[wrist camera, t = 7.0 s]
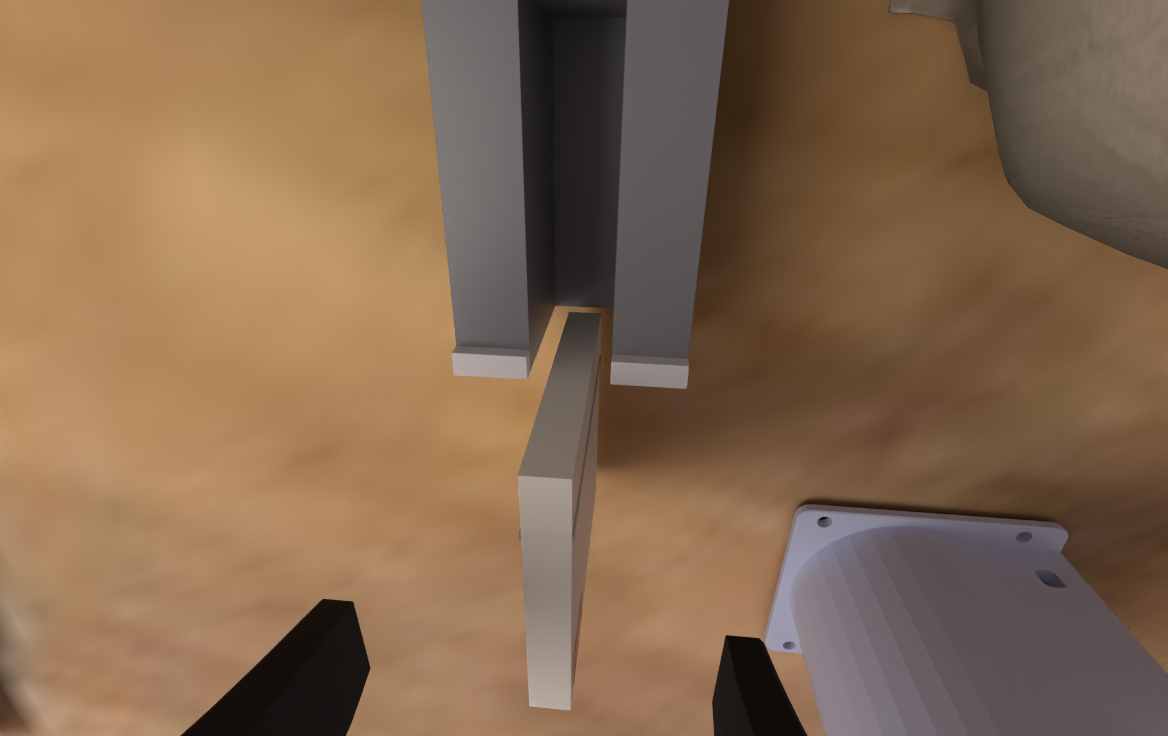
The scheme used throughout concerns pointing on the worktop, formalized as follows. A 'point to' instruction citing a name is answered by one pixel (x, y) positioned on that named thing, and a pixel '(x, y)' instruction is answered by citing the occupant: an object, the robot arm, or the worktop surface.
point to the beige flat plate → (560, 511)
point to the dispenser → (574, 172)
